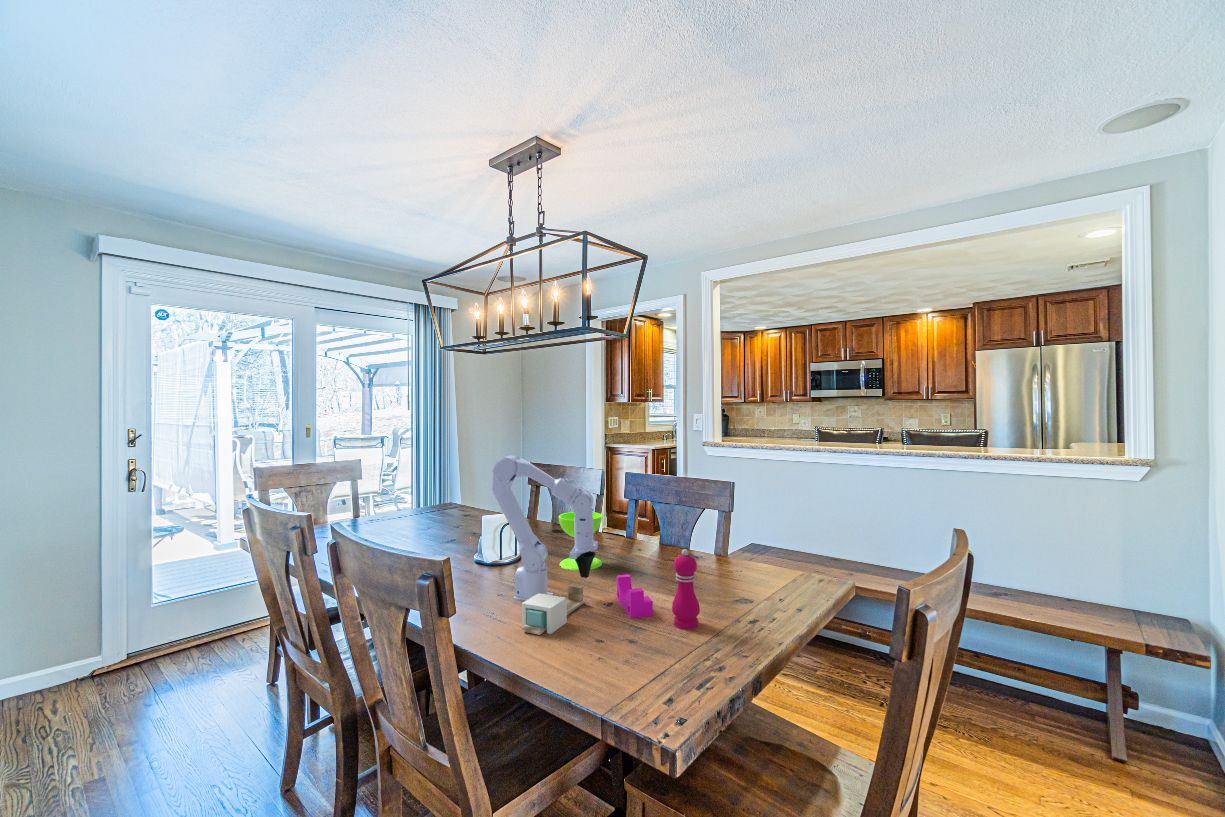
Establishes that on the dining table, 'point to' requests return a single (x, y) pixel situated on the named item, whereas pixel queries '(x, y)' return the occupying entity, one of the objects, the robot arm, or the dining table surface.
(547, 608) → the cream tunnel
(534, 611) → the teal block
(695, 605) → the pepper mill
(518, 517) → the robot arm
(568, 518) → the wineglass
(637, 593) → the toy block
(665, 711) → the dining table surface
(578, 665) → the dining table surface
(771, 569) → the dining table surface
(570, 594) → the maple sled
